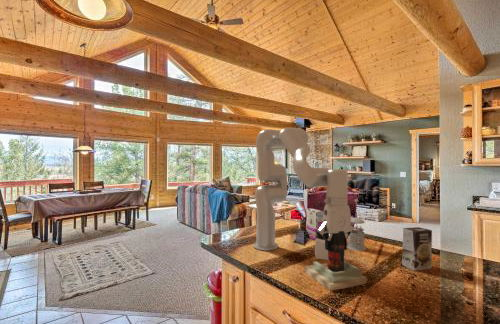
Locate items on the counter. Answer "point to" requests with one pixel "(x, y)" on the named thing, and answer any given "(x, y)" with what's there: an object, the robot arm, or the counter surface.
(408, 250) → the coffee box
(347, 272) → the dock
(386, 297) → the counter surface
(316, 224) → the candy bar box
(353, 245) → the french press
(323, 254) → the medicine bottle
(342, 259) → the deodorant
